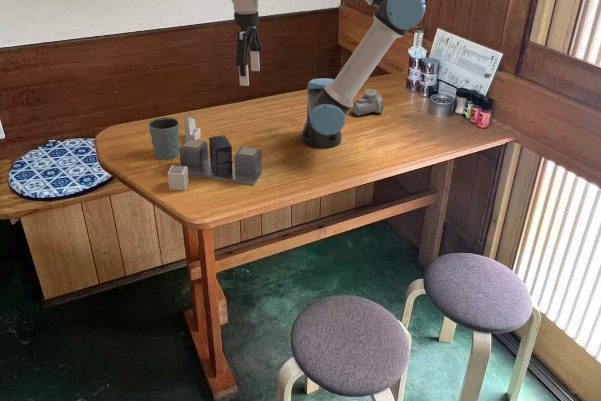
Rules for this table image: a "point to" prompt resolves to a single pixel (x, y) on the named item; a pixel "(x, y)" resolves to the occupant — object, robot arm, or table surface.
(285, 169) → the table surface
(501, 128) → the table surface
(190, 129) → the white slotted bracket
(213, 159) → the box
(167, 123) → the grey green plant pot
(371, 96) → the pipe fitting
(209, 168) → the rail plate
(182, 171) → the block
